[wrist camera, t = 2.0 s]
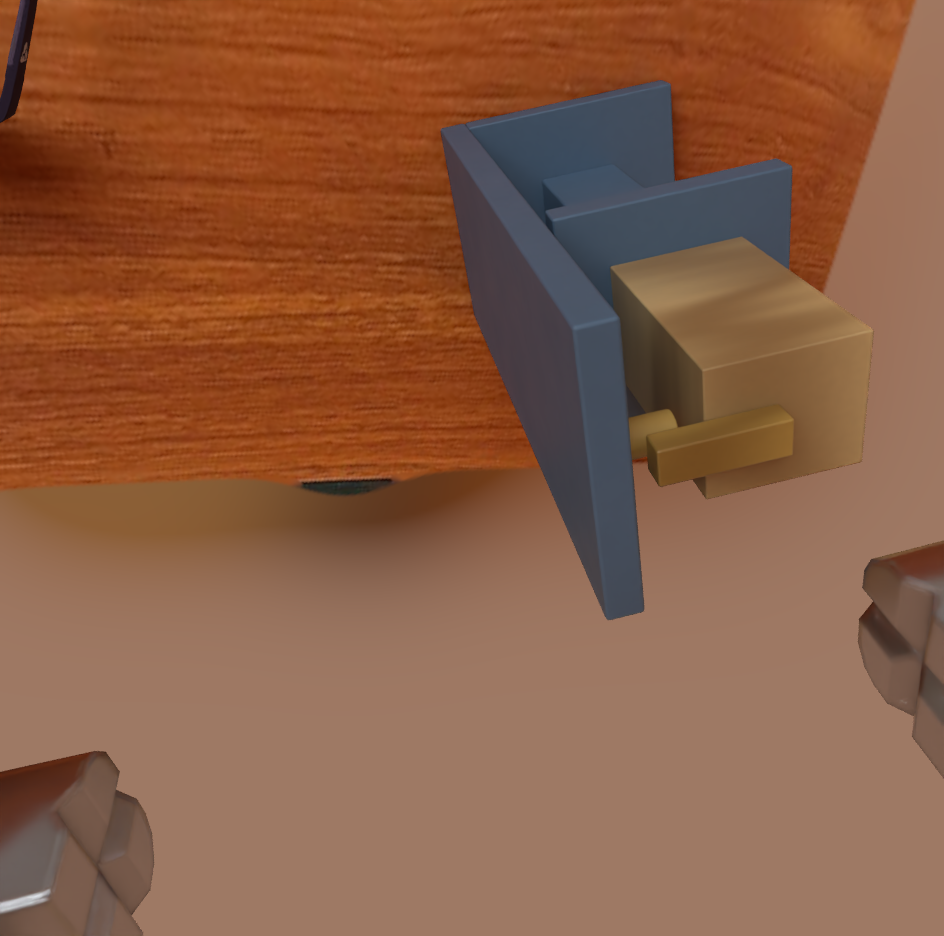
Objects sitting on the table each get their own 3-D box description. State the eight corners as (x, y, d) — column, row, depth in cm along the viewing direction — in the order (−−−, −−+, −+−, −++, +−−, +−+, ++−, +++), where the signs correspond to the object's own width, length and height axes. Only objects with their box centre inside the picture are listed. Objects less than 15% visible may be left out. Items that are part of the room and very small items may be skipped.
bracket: (662, 79, 34) (1007, 227, 17) (671, 271, 38) (953, 537, 22) (439, 128, 34) (572, 328, 17) (474, 316, 38) (607, 622, 21)
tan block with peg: (742, 235, 25) (895, 344, 19) (741, 346, 27) (880, 480, 21) (562, 276, 25) (653, 401, 18) (575, 385, 27) (662, 533, 20)
